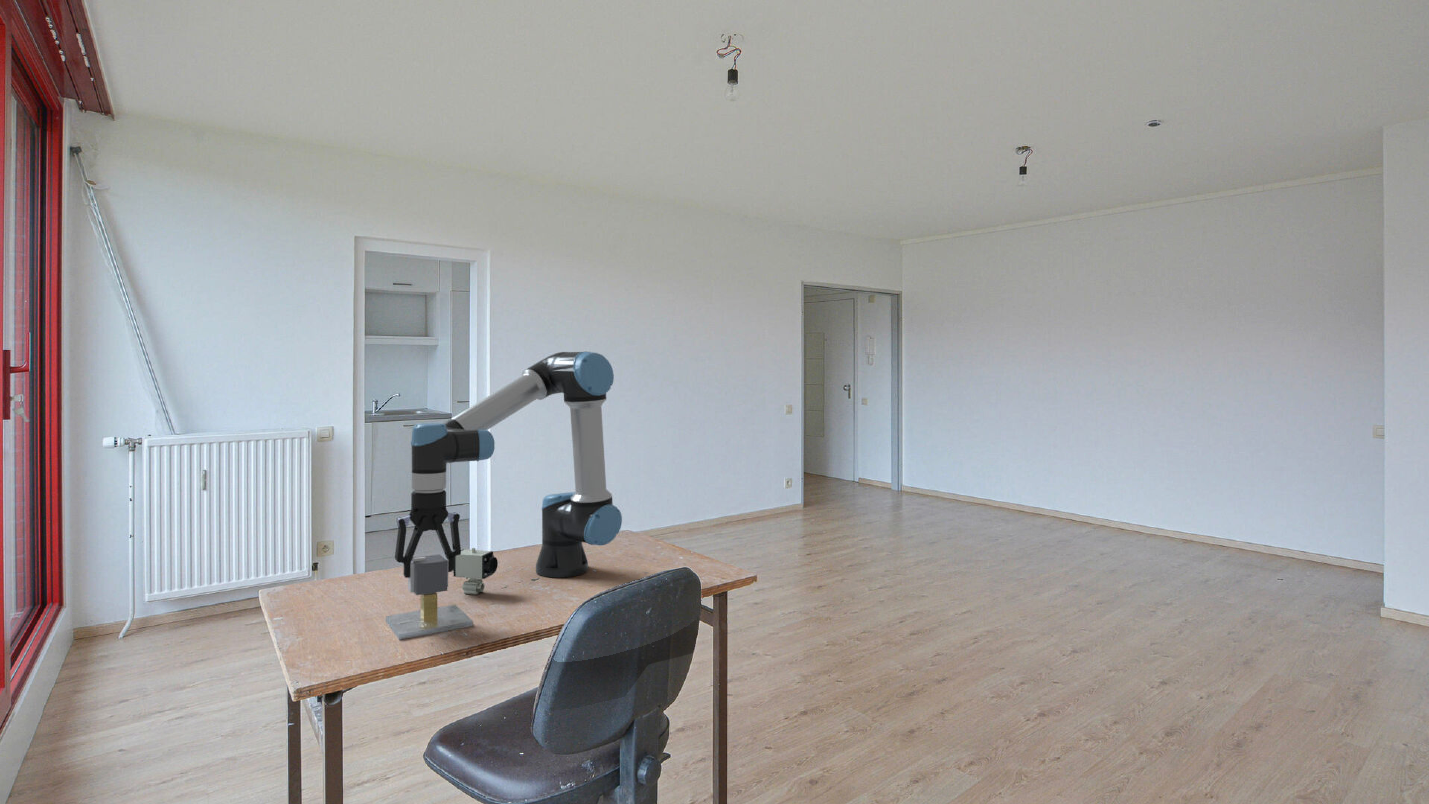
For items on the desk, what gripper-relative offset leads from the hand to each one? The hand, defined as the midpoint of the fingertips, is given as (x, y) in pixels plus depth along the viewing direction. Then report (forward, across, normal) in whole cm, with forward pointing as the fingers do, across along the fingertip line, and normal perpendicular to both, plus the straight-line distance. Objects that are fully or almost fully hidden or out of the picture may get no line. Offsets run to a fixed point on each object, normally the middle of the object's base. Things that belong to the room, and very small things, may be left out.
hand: (428, 588), depth 169 cm
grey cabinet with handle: (0, 0, 0) cm, 0 cm away
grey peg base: (+8, 0, 0) cm, 8 cm away
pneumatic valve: (+8, -16, -18) cm, 26 cm away
